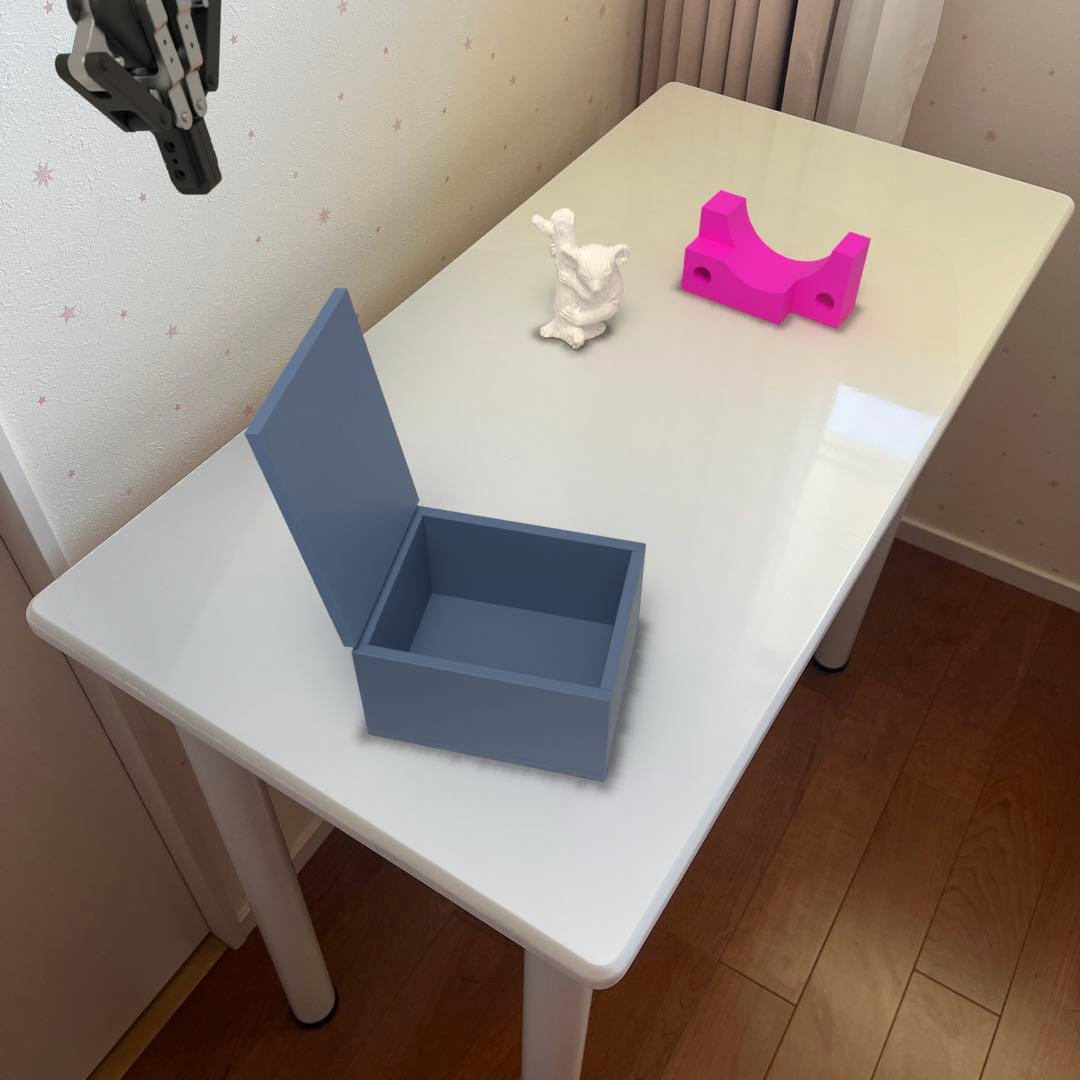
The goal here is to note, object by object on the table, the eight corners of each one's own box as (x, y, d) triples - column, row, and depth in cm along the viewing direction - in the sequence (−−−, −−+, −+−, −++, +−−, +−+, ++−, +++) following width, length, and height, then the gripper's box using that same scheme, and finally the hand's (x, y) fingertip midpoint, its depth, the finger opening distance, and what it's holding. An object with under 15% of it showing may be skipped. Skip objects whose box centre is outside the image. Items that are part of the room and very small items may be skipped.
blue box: (637, 628, 78) (646, 542, 71) (604, 782, 69) (610, 701, 63) (425, 590, 80) (415, 504, 74) (368, 734, 72) (350, 652, 65)
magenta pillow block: (680, 289, 106) (688, 219, 100) (711, 259, 109) (720, 189, 104) (826, 342, 100) (842, 271, 94) (853, 308, 103) (871, 238, 98)
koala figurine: (522, 345, 100) (520, 227, 91) (546, 304, 104) (546, 187, 95) (611, 364, 98) (618, 245, 89) (632, 321, 102) (641, 204, 93)
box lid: (347, 287, 62) (334, 287, 62) (258, 433, 53) (243, 433, 54) (420, 500, 73) (408, 499, 73) (355, 647, 65) (343, 646, 65)
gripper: (86, -192, 56) (198, 141, 68) (-84, -127, 47) (80, 245, 58) (215, -207, 54) (308, 139, 66) (64, -143, 45) (203, 246, 56)
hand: (200, 188), depth 62 cm, fingers closed
